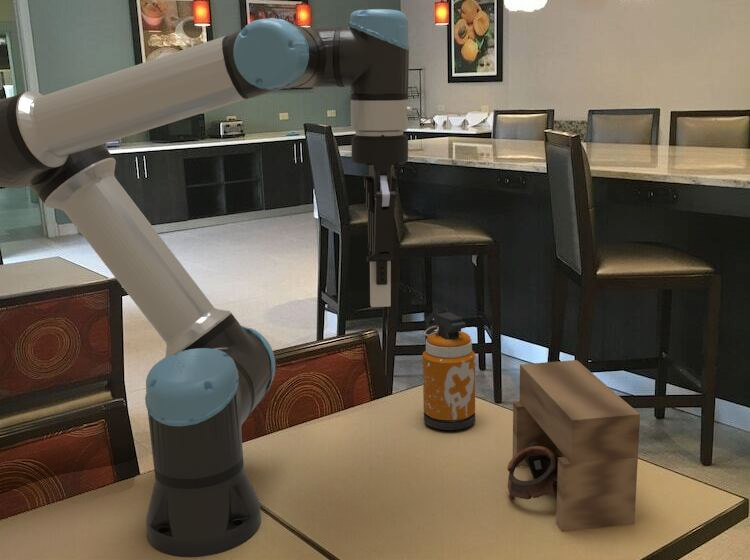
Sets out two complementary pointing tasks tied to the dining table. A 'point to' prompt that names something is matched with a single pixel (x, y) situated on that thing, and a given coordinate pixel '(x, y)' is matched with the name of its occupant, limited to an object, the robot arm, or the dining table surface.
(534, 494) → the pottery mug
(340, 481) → the dining table surface
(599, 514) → the hutch
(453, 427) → the canister
